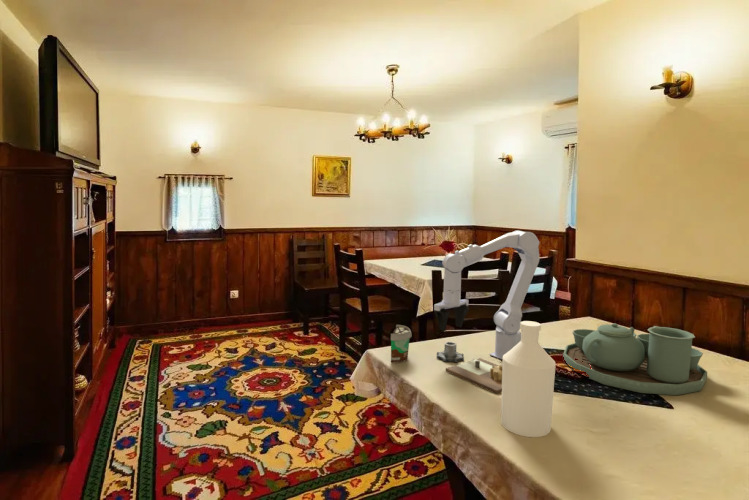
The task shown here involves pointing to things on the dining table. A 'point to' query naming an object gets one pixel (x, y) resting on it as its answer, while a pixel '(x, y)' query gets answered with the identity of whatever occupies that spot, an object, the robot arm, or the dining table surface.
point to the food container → (400, 343)
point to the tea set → (638, 359)
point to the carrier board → (480, 374)
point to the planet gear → (450, 353)
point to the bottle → (527, 385)
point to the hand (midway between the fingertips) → (450, 328)
